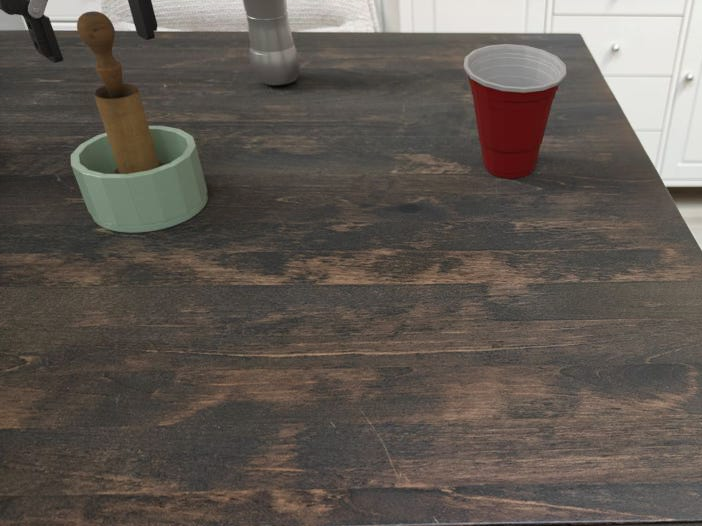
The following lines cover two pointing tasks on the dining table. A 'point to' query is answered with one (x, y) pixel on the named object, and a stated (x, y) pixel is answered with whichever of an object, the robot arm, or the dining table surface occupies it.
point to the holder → (142, 184)
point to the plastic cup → (512, 103)
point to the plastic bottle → (271, 42)
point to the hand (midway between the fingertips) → (102, 48)
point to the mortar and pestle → (118, 100)
